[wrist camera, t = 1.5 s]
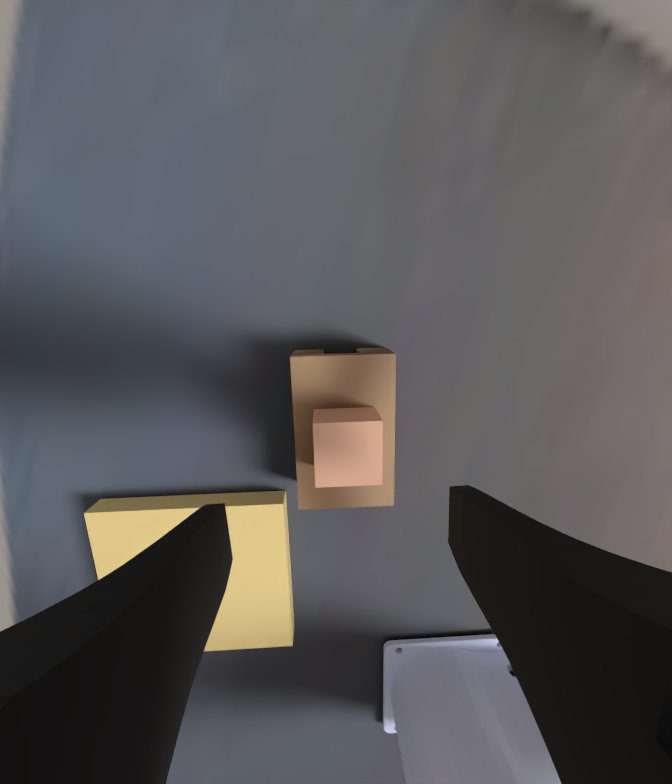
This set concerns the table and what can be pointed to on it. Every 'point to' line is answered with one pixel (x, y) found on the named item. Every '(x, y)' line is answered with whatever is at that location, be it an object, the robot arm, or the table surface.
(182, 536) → the robot arm
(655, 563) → the table surface
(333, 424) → the salmon pink square block
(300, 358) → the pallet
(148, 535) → the plate
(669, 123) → the table surface
